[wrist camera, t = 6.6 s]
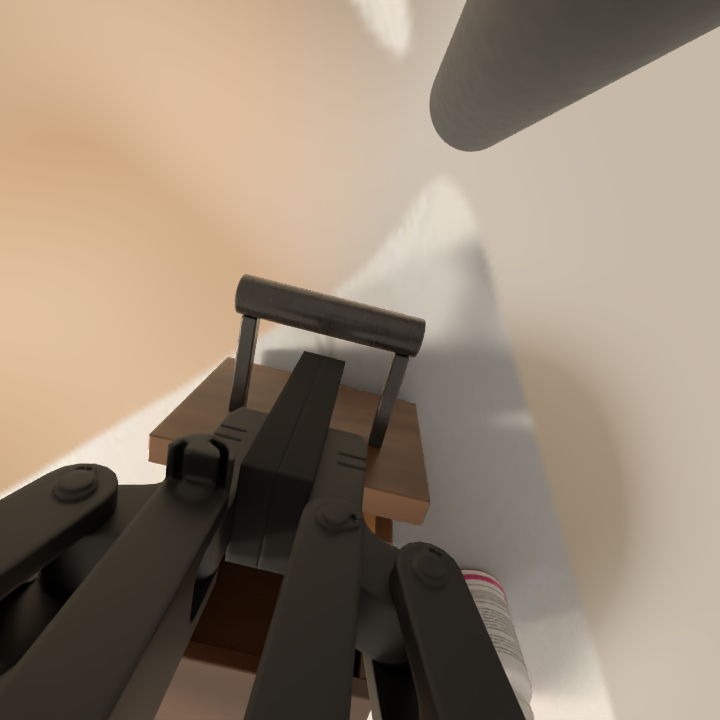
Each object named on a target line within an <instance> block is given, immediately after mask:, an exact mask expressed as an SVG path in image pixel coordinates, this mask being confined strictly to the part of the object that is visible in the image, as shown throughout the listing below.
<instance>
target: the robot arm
mask: <svg viewBox="0 0 720 720" xmlns="http://www.w3.org/2000/svg"><path fill="white" fill-rule="evenodd" d="M344 366H345V361H342V360H338V359H334V358H330V357H326V356H322V355H318V354H314V353H310V352H306V351H304V352H303V354H302V356H301V358H300V360H299V361H298V363H297V365H296V367H295V368H294V370H293V372H292V374H291V375H290V377H289V379H288V381H287V383H286V384H285V386H284V388H283V390H282V391H281V393H280V395H279V397H278V398H277V400H276V402H275V404H274V406H273V407H272V409H271V411H270V413H265V412H261V411H257V410H253V409H249V408H245V407H241V408H239V409H237V410H235V411H233V412H231V413H229V414H228V415H227V416H226V418H225V419H224V420H223V422H222V423H221V425H220V426H219V427H218V428H217V430H216V431H215V432H214V434H206V433H196V434H188V435H185V436H182V437H179V438H177V439H175V440H174V441H172V442H171V443H170V444H168V453H167V466H166V478H165V479H164V481H163V482H161V483H157V484H148V485H118V480H117V477H116V474H115V473H114V472H113V471H112V470H110V469H109V468H108V467H105V466H101V465H97V464H75V465H70V466H65V467H62V468H59V469H57V470H55V471H52V472H50V473H48V474H46V475H44V476H42V477H41V478H39V479H37V480H35V481H33V482H32V483H30V484H28V485H26V486H24V487H23V488H21V489H19V490H17V491H15V492H14V493H12V494H10V495H8V496H6V497H5V498H3V499H1V500H0V720H154V718H155V716H156V714H157V712H158V709H159V707H160V705H161V703H162V700H163V698H164V696H165V694H166V692H167V689H168V687H169V685H170V683H171V681H172V678H173V676H174V674H175V672H176V669H177V667H178V665H179V663H180V661H181V658H182V656H183V654H184V652H185V649H186V647H187V645H188V643H189V641H190V638H191V636H192V634H193V632H194V630H195V627H196V625H197V623H198V621H199V618H200V616H201V614H202V612H203V610H204V607H205V605H206V603H207V601H208V599H209V596H210V594H211V592H212V590H213V587H214V585H215V583H216V578H217V574H218V568H219V563H220V561H221V559H222V557H223V555H224V553H225V551H226V548H227V551H226V557H225V561H228V562H232V563H236V564H241V565H245V566H249V567H253V568H257V569H261V570H266V571H270V572H274V573H278V574H282V575H284V578H283V582H282V585H281V589H280V592H279V596H278V599H277V603H276V606H275V610H274V613H273V617H272V620H271V624H270V627H269V631H268V634H267V638H266V641H265V645H264V648H263V652H262V655H261V659H260V663H259V666H258V670H257V673H256V677H255V680H254V684H253V687H252V691H251V694H250V698H249V701H248V705H247V708H246V712H245V715H244V719H243V720H350V709H351V696H352V684H353V671H354V659H355V648H356V649H357V650H359V651H360V652H362V653H363V660H364V667H365V673H366V679H367V686H368V692H369V698H370V705H371V711H372V718H373V720H526V718H525V716H524V714H523V712H522V709H521V707H520V705H519V702H518V700H517V698H516V695H515V693H514V691H513V689H512V686H511V684H510V682H509V679H508V677H507V675H506V673H505V670H504V668H503V666H502V663H501V661H500V659H499V657H498V654H497V652H496V650H495V647H494V645H493V643H492V640H491V638H490V636H489V634H488V631H487V629H486V627H485V624H484V622H483V620H482V618H481V615H480V613H479V611H478V608H477V606H476V604H475V602H474V599H473V597H472V595H471V592H470V590H469V588H468V586H467V583H466V581H465V579H464V576H463V574H462V572H461V570H460V568H459V567H458V565H457V564H456V562H455V560H454V559H453V558H452V557H450V556H449V555H448V554H447V553H446V552H445V551H444V550H442V549H440V548H438V547H436V546H434V545H432V544H429V543H424V542H413V543H408V544H407V545H405V546H404V547H402V548H401V549H400V550H399V549H397V548H396V547H394V546H392V545H390V544H388V543H386V542H385V541H383V540H382V539H380V538H379V537H377V536H376V535H375V534H374V533H373V532H372V531H371V530H370V529H369V527H368V526H367V524H366V523H365V520H364V517H363V513H362V505H363V494H364V483H365V472H366V471H365V470H366V460H367V449H368V447H367V445H366V443H365V441H364V439H363V437H362V435H358V434H354V433H350V432H346V431H342V430H338V429H334V428H330V427H329V426H330V422H331V418H332V414H333V410H334V406H335V402H336V398H337V394H338V390H339V386H340V382H341V378H342V374H343V370H344Z"/></svg>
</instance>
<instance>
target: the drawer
mask: <svg viewBox="0 0 720 720" xmlns="http://www.w3.org/2000/svg"><path fill="white" fill-rule="evenodd" d="M235 310H236V312H237V313H240V314H244V315H243V316H242V319H241V325H240V332H239V339H238V346H237V353H236V359H234V358H230V357H227V358H226V359H225V360H224V361H223V362H222V363H221V364H220V365H219V366H218V367H217V368H216V369H215V370H214V371H213V372H212V373H211V374H210V375H209V376H208V377H207V378H206V379H205V380H204V381H203V382H202V383H201V384H200V385H199V386H198V387H197V388H196V389H195V390H194V391H193V392H192V393H191V394H190V395H189V396H188V397H187V398H186V399H185V400H184V401H183V402H182V403H181V404H180V405H179V406H178V407H177V408H176V409H175V410H174V411H173V412H172V413H171V414H170V415H169V416H168V417H167V418H166V419H164V420H163V421H162V422H161V423H160V424H159V425H158V426H157V427H156V428H155V429H154V430H153V431H152V432H151V433H150V434H149V444H148V461H149V462H153V463H158V464H162V465H166V466H167V453H168V444H170V443H171V442H172V441H174V440H175V439H177V438H179V437H182V436H185V435H188V434H196V433H206V434H214V432H215V431H216V430H217V428H218V427H219V426H220V425H221V423H222V422H223V420H224V419H225V418H226V416H227V415H228V414H229V413H231V412H233V411H235V410H237V409H239V408H241V407H245V408H249V409H253V410H257V411H261V412H265V413H270V411H271V409H272V407H273V406H274V404H275V402H276V400H277V398H278V397H279V395H280V393H281V391H282V390H283V388H284V386H285V384H286V383H287V381H288V379H289V377H290V375H291V374H292V373H290V372H286V371H282V370H278V369H274V368H270V367H266V366H262V365H258V364H254V363H253V361H254V355H255V349H256V342H257V336H258V330H259V324H260V319H264V320H268V321H272V322H276V323H280V324H283V325H287V326H291V327H295V328H299V329H303V330H307V331H311V332H315V333H319V334H323V335H327V336H331V337H335V338H339V339H343V340H347V341H351V342H355V343H359V344H363V345H366V346H370V347H374V348H378V349H382V350H386V351H390V352H394V353H393V356H392V359H391V363H390V366H389V370H388V373H387V376H386V380H385V383H384V386H383V390H382V393H381V395H378V394H374V393H370V392H366V391H362V390H358V389H354V388H350V387H346V386H342V385H340V386H339V390H338V394H337V398H336V402H335V406H334V410H333V414H332V418H331V422H330V426H329V427H330V428H334V429H338V430H342V431H346V432H350V433H354V434H358V435H362V437H363V439H364V441H365V443H366V445H367V447H368V449H367V460H366V470H365V471H366V472H365V483H364V494H363V505H362V513H363V517H364V520H365V523H366V524H367V526H368V527H369V529H370V530H371V531H372V532H373V533H374V534H375V535H376V536H377V537H379V538H380V539H382V540H383V541H385V542H386V543H388V544H390V545H392V546H393V520H397V521H401V522H405V523H410V524H414V525H418V526H421V525H422V523H423V520H424V518H425V515H426V512H427V510H428V507H429V505H430V496H429V490H428V483H427V477H426V470H425V463H424V457H423V450H422V443H421V437H420V430H419V423H418V417H417V410H416V404H414V403H410V402H406V401H402V400H398V399H397V396H398V393H399V390H400V387H401V383H402V380H403V377H404V374H405V371H406V368H407V364H408V361H409V356H410V357H416V356H417V354H418V352H419V350H420V347H421V345H422V341H423V337H424V333H425V325H426V324H425V320H424V319H420V318H416V317H412V316H408V315H404V314H400V313H396V312H393V311H389V310H385V309H381V308H377V307H373V306H369V305H365V304H361V303H357V302H354V301H350V300H346V299H342V298H338V297H334V296H330V295H326V294H322V293H318V292H315V291H311V290H307V289H303V288H298V287H295V286H291V285H287V284H283V283H279V282H276V281H272V280H268V279H264V278H260V277H256V276H251V275H248V274H245V275H243V277H242V278H241V280H240V282H239V284H238V287H237V291H236V295H235ZM226 551H227V548H226ZM226 551H225V553H224V555H223V557H222V559H221V561H220V563H219V568H218V574H217V578H216V583H215V585H214V587H213V590H212V592H211V594H210V596H209V599H208V601H207V603H206V605H205V607H204V610H203V612H202V614H201V616H200V618H199V621H198V623H197V625H196V627H195V630H194V632H193V634H192V636H191V638H190V640H192V641H196V642H201V643H205V644H209V645H214V646H218V647H223V648H227V649H232V650H236V651H241V652H245V653H250V654H254V655H259V656H261V655H262V652H263V648H264V645H265V641H266V638H267V634H268V631H269V627H270V624H271V620H272V617H273V613H274V610H275V606H276V603H277V599H278V596H279V592H280V589H281V585H282V582H283V578H284V575H282V574H278V573H274V572H270V571H266V570H261V569H257V568H253V567H249V566H245V565H241V564H236V563H232V562H228V561H225V557H226Z"/></svg>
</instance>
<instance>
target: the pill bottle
mask: <svg viewBox="0 0 720 720" xmlns="http://www.w3.org/2000/svg"><path fill="white" fill-rule="evenodd" d="M461 572H462V574H463V576H464V579H465V581H466V583H467V586H468V588H469V590H470V592H471V595H472V597H473V599H474V602H475V604H476V606H477V608H478V611H479V613H480V615H481V618H482V620H483V622H484V624H485V627H486V629H487V631H488V634H489V636H490V638H491V640H492V643H493V645H494V647H495V650H496V652H497V654H498V657H499V659H500V661H501V663H502V666H503V668H504V670H505V673H506V675H507V677H508V679H509V682H510V684H511V686H512V689H513V691H514V693H515V695H516V698H517V700H518V702H519V705H520V707H521V709H522V712H523V714H524V716H525V718H526V720H534V716H533V712H532V710H531V707H530V705H529V703H530V701H531V697H532V686H531V682H530V678H529V675H528V671H527V668H526V665H525V662H524V659H523V655H522V652H521V649H520V646H519V642H518V639H517V636H516V632H515V629H514V625H513V622H512V618H511V615H510V612H509V608H508V604H507V600H506V596H505V593H504V591H503V588H502V586H501V585H500V583H499V582H498V581H497V580H496V579H495V578H494V577H492V576H491V575H489V574H487V573H484V572H481V571H476V570H461Z"/></svg>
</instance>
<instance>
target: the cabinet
mask: <svg viewBox="0 0 720 720" xmlns="http://www.w3.org/2000/svg"><path fill="white" fill-rule="evenodd" d="M260 659H261V656H259V655H254V654H250V653H245V652H241V651H236V650H232V649H227V648H223V647H218V646H214V645H209V644H205V643H201V642H196V641H192V640H190V641H189V643H188V645H187V647H186V649H185V652H184V654H183V656H182V658H181V661H180V663H179V665H178V667H177V669H176V672H175V674H174V676H173V678H172V681H171V683H170V685H169V687H168V689H167V692H166V694H165V696H164V698H163V700H162V703H161V705H160V707H159V709H158V712H157V714H156V716H155V718H154V720H243V719H244V715H245V712H246V708H247V705H248V701H249V698H250V694H251V691H252V687H253V684H254V680H255V677H256V673H257V670H258V666H259V663H260ZM370 711H371V705H370V698H369V692H368V686H367V679H366V673H365V667H364V660H363V653H362V652H360V651H359V650H357V649H356V648H355V659H354V671H353V684H352V696H351V709H350V720H367V718H368V715H369V713H370Z"/></svg>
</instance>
